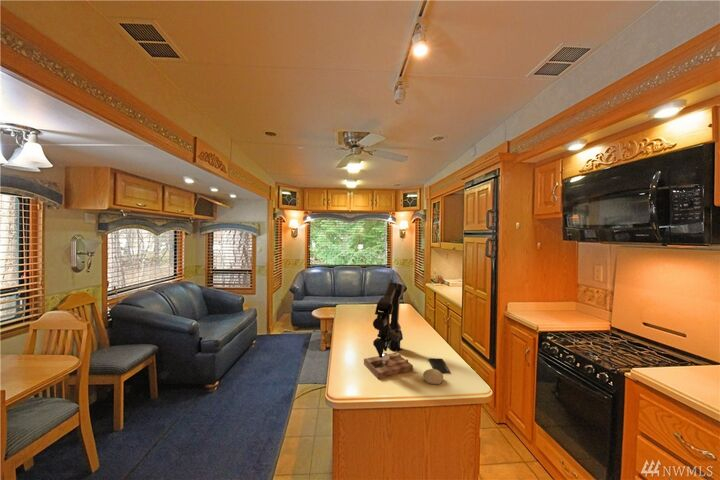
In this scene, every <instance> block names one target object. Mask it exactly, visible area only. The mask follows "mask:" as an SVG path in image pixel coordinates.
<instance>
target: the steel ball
mask: <svg viewBox="0 0 720 480" xmlns="http://www.w3.org/2000/svg"><path fill="white" fill-rule="evenodd" d="M388 354H389V353H386V352H383V356H382V358H380V360H381V362H382V363H388V362H389V360H390V356H389V355H388Z"/></svg>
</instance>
